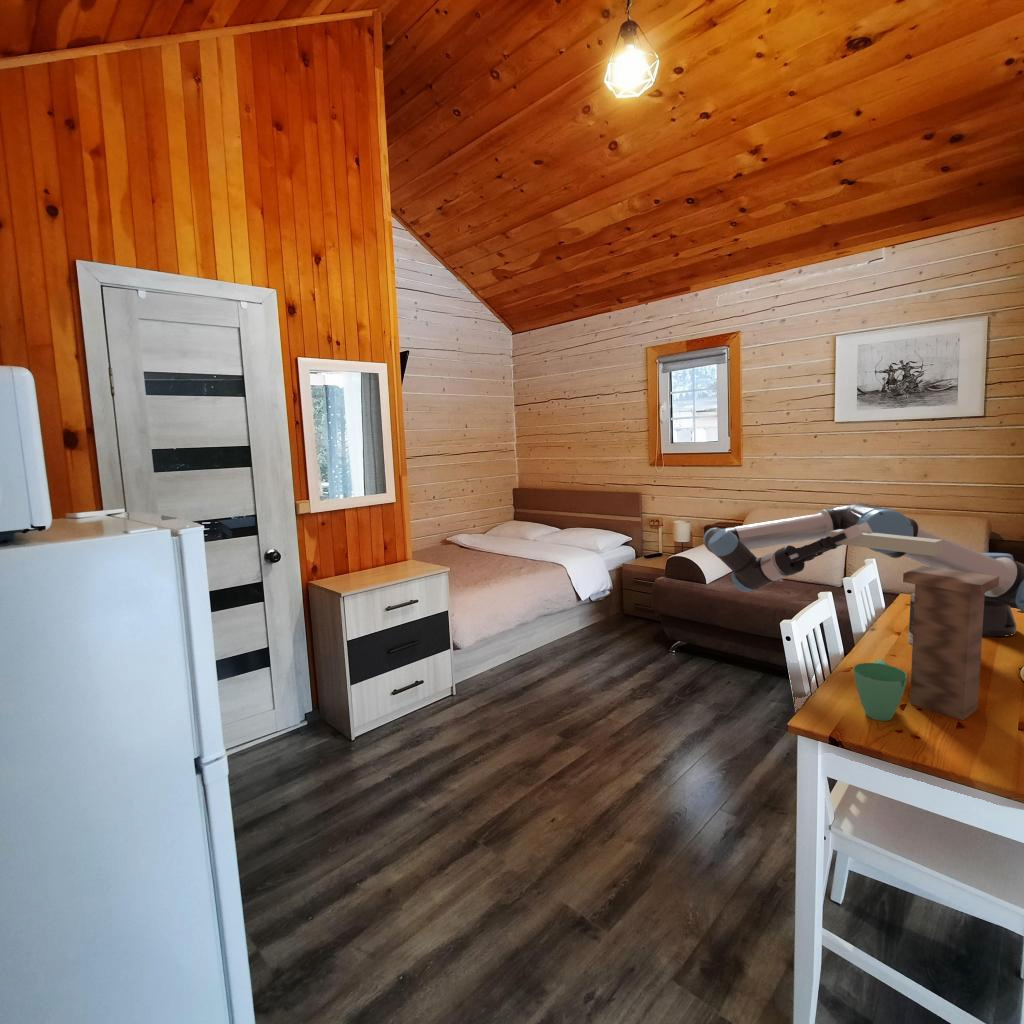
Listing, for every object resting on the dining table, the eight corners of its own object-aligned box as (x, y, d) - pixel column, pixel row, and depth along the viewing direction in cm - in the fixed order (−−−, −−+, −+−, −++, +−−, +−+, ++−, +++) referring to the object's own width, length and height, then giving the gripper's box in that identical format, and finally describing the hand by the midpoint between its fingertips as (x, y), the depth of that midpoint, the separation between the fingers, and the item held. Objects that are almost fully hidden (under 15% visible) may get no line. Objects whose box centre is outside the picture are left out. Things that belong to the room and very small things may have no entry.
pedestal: (898, 701, 131) (903, 573, 127) (917, 689, 137) (923, 565, 133) (972, 725, 120) (981, 585, 116) (990, 710, 125) (999, 576, 121)
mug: (906, 730, 119) (908, 684, 118) (851, 720, 124) (852, 675, 123) (904, 701, 131) (906, 659, 130) (854, 693, 137) (855, 652, 135)
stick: (830, 543, 143) (831, 531, 142) (839, 540, 145) (839, 529, 145) (934, 555, 125) (934, 542, 124) (941, 553, 127) (942, 539, 127)
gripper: (806, 570, 160) (888, 537, 141) (771, 581, 150) (854, 547, 132) (794, 545, 162) (873, 510, 144) (758, 555, 153) (838, 518, 134)
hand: (864, 528), depth 138 cm, fingers closed on stick, 4 cm apart
